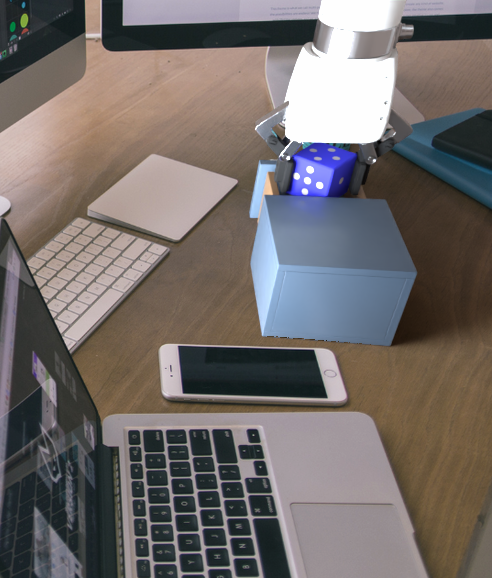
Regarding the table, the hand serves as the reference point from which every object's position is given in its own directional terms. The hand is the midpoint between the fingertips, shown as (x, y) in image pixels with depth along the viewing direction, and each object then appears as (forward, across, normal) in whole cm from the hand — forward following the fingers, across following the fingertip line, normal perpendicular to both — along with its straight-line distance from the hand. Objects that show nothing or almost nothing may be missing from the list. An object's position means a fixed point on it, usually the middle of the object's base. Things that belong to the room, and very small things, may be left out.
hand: (317, 186), depth 90 cm
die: (+1, 0, 0) cm, 1 cm away
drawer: (+8, 0, -2) cm, 8 cm away
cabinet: (+9, 0, +11) cm, 14 cm away
